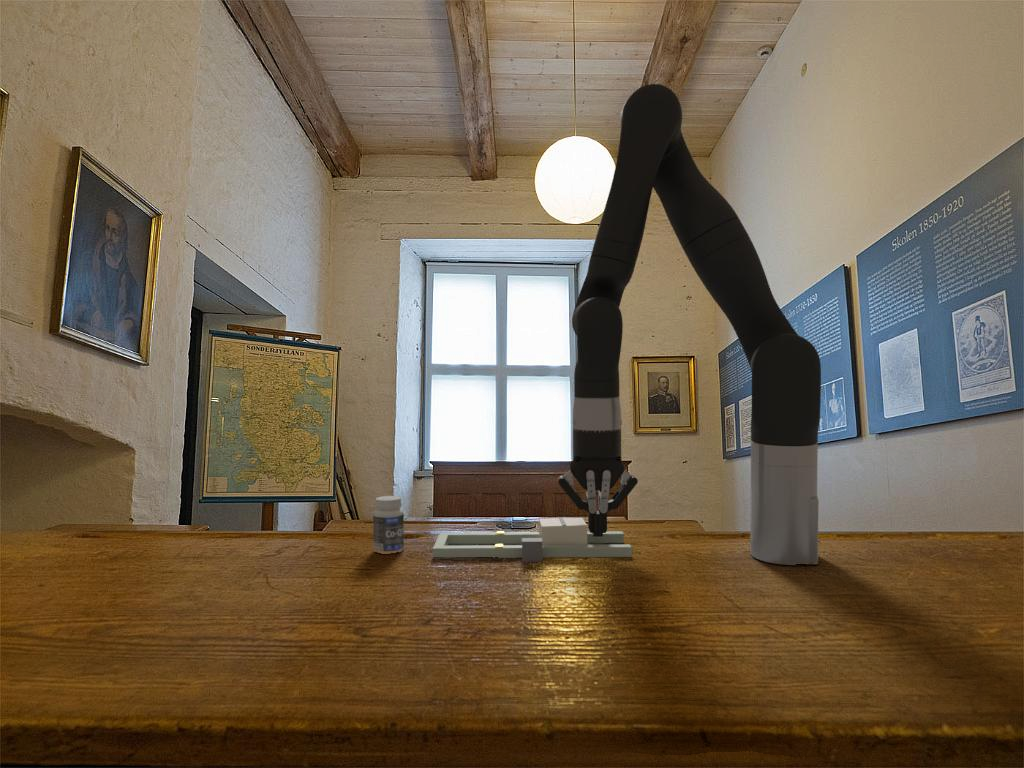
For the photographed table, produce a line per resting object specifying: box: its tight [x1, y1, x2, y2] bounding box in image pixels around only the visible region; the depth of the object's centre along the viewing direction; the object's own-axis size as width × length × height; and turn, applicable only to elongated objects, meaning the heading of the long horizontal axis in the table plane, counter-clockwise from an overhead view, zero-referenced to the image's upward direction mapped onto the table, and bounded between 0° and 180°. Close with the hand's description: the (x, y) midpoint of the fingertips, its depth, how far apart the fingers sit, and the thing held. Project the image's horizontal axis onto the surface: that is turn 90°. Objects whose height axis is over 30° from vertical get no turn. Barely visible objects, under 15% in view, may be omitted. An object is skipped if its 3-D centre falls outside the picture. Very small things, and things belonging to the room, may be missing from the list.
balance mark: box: [494, 530, 505, 548], centre depth 107 cm, size 1×9×1 cm, turn 179°
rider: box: [538, 517, 588, 545], centre depth 107 cm, size 7×5×5 cm
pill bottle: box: [372, 495, 405, 552], centre depth 107 cm, size 5×5×8 cm
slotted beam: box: [432, 530, 633, 563], centre depth 106 cm, size 30×11×3 cm, turn 89°
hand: (597, 535), depth 107 cm, fingers closed
